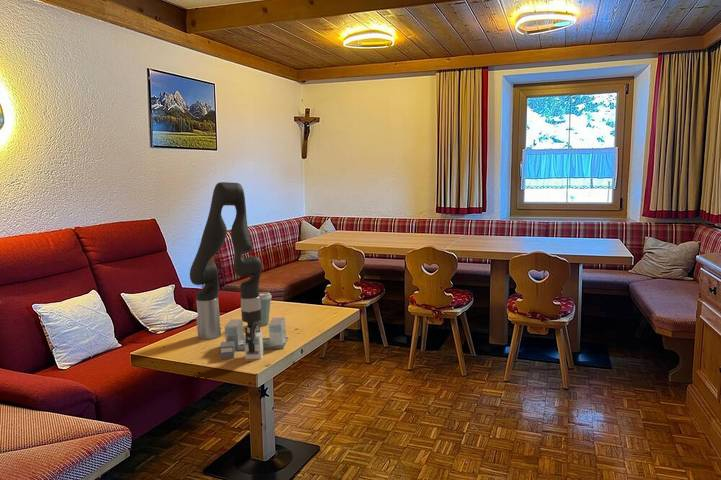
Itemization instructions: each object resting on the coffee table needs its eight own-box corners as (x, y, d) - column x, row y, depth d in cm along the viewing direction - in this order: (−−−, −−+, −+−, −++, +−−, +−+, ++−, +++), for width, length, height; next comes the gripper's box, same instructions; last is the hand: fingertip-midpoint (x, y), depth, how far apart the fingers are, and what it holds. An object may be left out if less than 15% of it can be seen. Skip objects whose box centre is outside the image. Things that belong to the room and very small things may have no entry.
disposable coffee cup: (246, 324, 255) (243, 294, 253) (265, 319, 263) (263, 289, 261) (258, 328, 248) (256, 297, 246) (278, 323, 255) (275, 292, 253)
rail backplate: (224, 351, 219) (222, 327, 217) (232, 341, 230) (230, 319, 229) (283, 348, 218) (281, 324, 217) (287, 339, 230) (286, 316, 229)
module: (245, 359, 208) (243, 337, 206) (248, 354, 213) (246, 332, 212) (260, 358, 208) (259, 336, 206) (263, 354, 213) (261, 332, 212)
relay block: (220, 359, 209) (219, 347, 208) (222, 354, 215) (221, 342, 215) (234, 358, 210) (233, 346, 209) (235, 353, 216) (234, 341, 215)
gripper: (245, 304, 215) (248, 343, 217) (236, 313, 201) (240, 355, 203) (264, 303, 215) (267, 342, 217) (256, 312, 201) (260, 354, 203)
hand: (254, 348), depth 210 cm, fingers open, 8 cm apart
